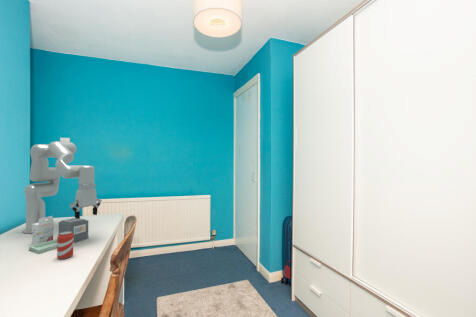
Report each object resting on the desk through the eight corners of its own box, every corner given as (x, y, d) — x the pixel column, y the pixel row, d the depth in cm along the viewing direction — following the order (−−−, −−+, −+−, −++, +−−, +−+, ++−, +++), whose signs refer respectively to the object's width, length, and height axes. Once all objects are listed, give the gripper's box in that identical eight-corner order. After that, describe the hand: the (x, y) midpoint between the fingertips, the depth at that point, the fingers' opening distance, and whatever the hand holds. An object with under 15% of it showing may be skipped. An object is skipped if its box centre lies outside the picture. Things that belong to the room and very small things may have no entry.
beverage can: (53, 259, 109) (54, 234, 109) (67, 253, 115) (67, 230, 115) (63, 260, 108) (63, 235, 108) (76, 255, 114) (76, 231, 114)
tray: (28, 250, 119) (28, 246, 119) (59, 241, 132) (59, 238, 132) (38, 253, 115) (38, 250, 115) (69, 244, 127) (69, 241, 127)
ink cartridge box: (46, 239, 135) (47, 215, 135) (53, 240, 134) (53, 215, 134) (31, 244, 127) (31, 218, 127) (38, 245, 126) (38, 219, 126)
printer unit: (58, 240, 134) (58, 220, 134) (76, 235, 143) (76, 217, 143) (70, 243, 128) (70, 223, 129) (88, 238, 138) (88, 219, 138)
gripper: (97, 185, 140) (97, 212, 140) (66, 188, 125) (66, 219, 124) (105, 185, 137) (105, 214, 137) (74, 188, 121) (74, 220, 121)
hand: (86, 216), depth 131 cm, fingers open, 9 cm apart
